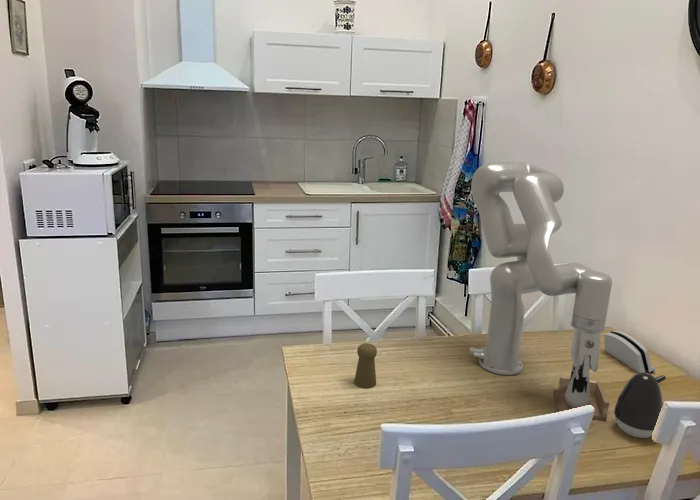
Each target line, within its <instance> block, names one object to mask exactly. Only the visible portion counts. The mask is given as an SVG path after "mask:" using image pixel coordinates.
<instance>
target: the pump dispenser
mask: <svg viewBox="0 0 700 500" xmlns="http://www.w3.org/2000/svg"><path fill="white" fill-rule="evenodd" d="M666 379H667V377H666V375H659V376H656V377H655V376H654V375H652V374H650V372H646V373H645V372H640V373H638V372H637V373H636V374H633V376H631V377H630V378H629V380H628V381H627V382H625V383H626V384H625V385H624V386H623V388H622V389H621V392H620V393H619V396H618V398H617V400H616V402H615V405H614V409H613V410H614V411H613V413H614V418H615V421H616V424H617V427H619V428H620V430H621V431H623V432H624V433H625V434H626V435H629V436H631V437H635V438H637V439H638V438H639V439H647V438H650V437H653V436H652V432H653V430H654V427H655V425H656V422H657V419H658V416H659V413H660V411H661V408H662V406H663V407H664V400H663V395H662V391H661V387H660V383H662V382H663V381H666Z"/></svg>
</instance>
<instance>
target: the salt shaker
mask: <svg viewBox="0 0 700 500" xmlns="http://www.w3.org/2000/svg"><path fill="white" fill-rule="evenodd" d="M590 365H591V364H590ZM574 366H575V365H574ZM580 367H582V368H583V366H580ZM590 370H592V369H591V367H590V369H589V371H590ZM580 372H582V371H579V373H580ZM575 376H576V368H575V370H574V373H573V375H572V378H571V380H570V383H569V385H568V388H567V390H566V392H565V398H566V402H567V405H569V406H570V407H571V408H577V407H581V406H585V405H587V404H588V403H589V401H590V394H589V380H590V376H589V377H588V383H587V389H586V393H585V387H584V391H583V392H582V393H580V392H577V390H576V389H575V391H574V393H572V386H573V380H574V378H575Z"/></svg>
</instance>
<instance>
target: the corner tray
mask: <svg viewBox="0 0 700 500" xmlns="http://www.w3.org/2000/svg"><path fill="white" fill-rule="evenodd" d="M569 383H570V377H569V376H568V377H567V376H564V375H563V376H562V375H560V376H559V381H558V387H557V389H555V388H553V396H554V400H555V404H556V409H557V412H559V411H564V410H569V409H572V408H571V407H570V406H569V405H567V402H566V398H565V392H566V390H567V388H568V385H569ZM589 394H590V401H589V403H588V404H587V405H592V406H594V408H595V412H594V415H593V419H592V420H596V421H601V422H606V421H607V417H608V412H609V407H610V401H609V398H608V396H607V394H606V392H605V390H604V387H603V385H602V383H601V381H596V380H590V379H589Z"/></svg>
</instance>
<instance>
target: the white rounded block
mask: <svg viewBox="0 0 700 500" xmlns="http://www.w3.org/2000/svg"><path fill="white" fill-rule="evenodd" d="M603 339H604V341H603V342H604V351H605V352H606V353H608V354H609V355H611V356H612V357H614V358H616V359H617V360H618V361H620V362H622V363H623V364H625V365H626V366H628V367H629V368H630V369H632V370H634V371H635V372H637V373H640V372H645V373H653V374H654V373H655V374H657V372H656V368H655V367H654V366H652V364H651V359H650V355H649V351H648V349H647V347H645V346H644V345H643V344H642V343H641V342H640V341H639V340H637V339H636V338H635V337H633V336H631V335H630V334H628V333H626V332H624V331H621V330H611V331H610V332H606V333H605V334H604V336H603ZM651 371H652V372H651Z"/></svg>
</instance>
